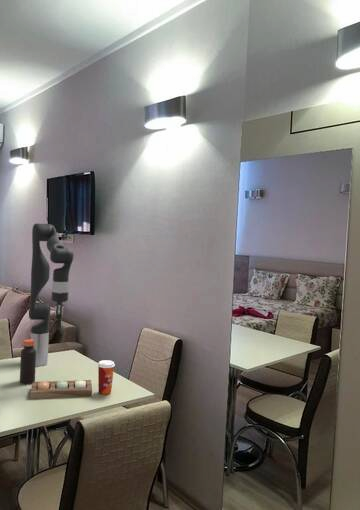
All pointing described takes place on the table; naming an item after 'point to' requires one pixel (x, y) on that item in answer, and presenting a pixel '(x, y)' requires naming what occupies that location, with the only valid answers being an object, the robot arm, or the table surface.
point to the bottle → (28, 362)
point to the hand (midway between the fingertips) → (58, 327)
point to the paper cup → (105, 376)
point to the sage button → (62, 384)
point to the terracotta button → (43, 385)
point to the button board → (60, 390)
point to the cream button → (80, 384)
